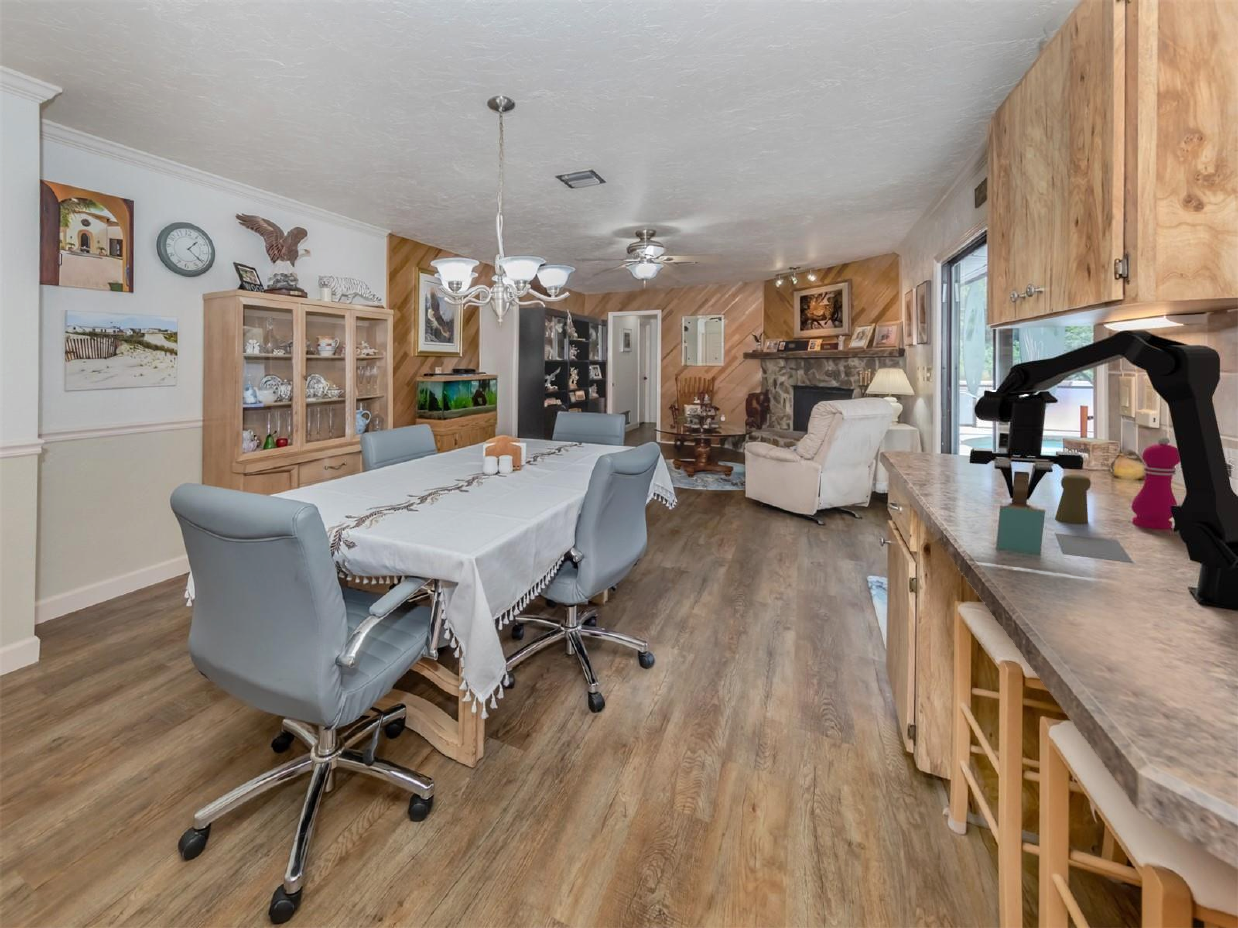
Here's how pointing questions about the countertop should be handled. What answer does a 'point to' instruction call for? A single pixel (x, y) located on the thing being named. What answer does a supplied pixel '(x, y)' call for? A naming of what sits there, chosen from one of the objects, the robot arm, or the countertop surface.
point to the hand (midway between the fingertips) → (1019, 498)
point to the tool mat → (1092, 547)
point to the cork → (1073, 500)
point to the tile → (1020, 529)
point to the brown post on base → (1020, 492)
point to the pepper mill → (1156, 487)
